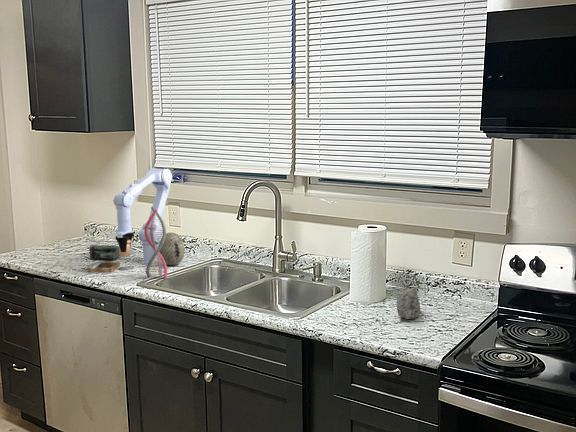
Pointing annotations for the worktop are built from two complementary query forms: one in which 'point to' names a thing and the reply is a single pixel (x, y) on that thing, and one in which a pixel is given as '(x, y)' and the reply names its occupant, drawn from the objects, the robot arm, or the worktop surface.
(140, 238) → the robot arm
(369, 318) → the worktop surface
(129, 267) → the coaster
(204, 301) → the worktop surface
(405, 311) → the rock
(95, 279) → the worktop surface
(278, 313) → the worktop surface
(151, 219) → the dna model
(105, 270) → the cold frame
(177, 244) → the decorative egg
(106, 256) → the sculpture
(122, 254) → the pot
